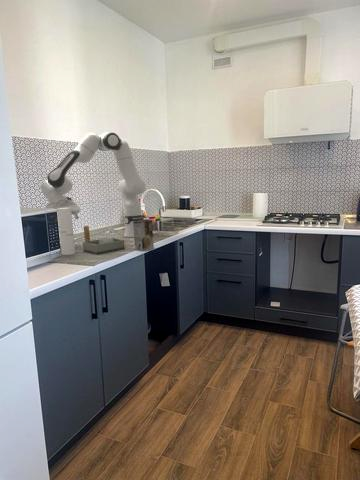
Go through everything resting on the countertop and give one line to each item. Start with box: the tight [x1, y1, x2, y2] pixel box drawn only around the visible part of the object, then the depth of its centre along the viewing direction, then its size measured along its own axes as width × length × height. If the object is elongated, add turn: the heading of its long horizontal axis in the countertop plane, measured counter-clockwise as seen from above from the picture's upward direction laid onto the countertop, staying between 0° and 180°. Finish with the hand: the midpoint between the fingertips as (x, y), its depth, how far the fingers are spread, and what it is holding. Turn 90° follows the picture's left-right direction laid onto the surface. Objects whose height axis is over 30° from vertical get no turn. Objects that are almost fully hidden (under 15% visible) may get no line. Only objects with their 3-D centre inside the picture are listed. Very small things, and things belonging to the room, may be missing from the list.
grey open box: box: [82, 236, 125, 255], centre depth 204 cm, size 18×15×7 cm
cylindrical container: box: [57, 208, 76, 256], centre depth 195 cm, size 7×7×25 cm
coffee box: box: [133, 219, 155, 252], centre depth 200 cm, size 9×6×16 cm
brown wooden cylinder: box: [83, 225, 91, 242], centre depth 209 cm, size 3×3×13 cm
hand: (71, 219), depth 213 cm, fingers open, 8 cm apart
